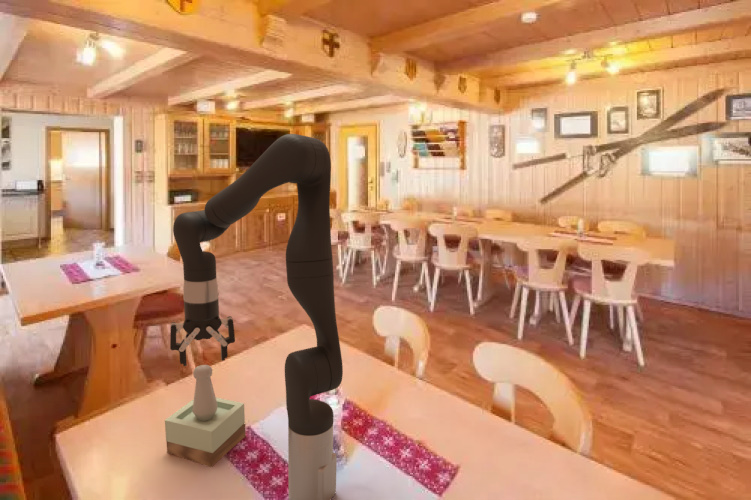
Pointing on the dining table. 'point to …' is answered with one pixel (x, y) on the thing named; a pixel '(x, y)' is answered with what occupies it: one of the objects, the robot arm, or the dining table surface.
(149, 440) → the dining table surface
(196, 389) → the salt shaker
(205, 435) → the top block
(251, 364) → the dining table surface
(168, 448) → the base block
